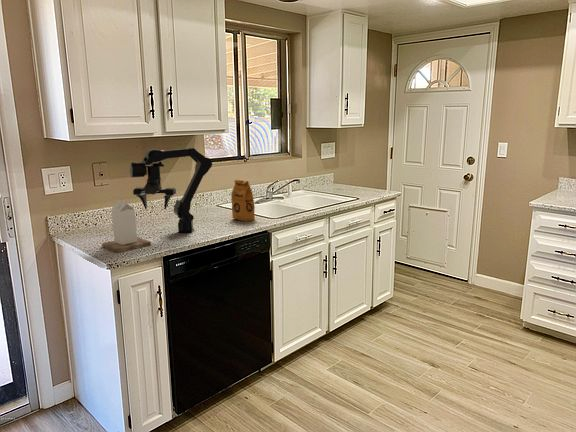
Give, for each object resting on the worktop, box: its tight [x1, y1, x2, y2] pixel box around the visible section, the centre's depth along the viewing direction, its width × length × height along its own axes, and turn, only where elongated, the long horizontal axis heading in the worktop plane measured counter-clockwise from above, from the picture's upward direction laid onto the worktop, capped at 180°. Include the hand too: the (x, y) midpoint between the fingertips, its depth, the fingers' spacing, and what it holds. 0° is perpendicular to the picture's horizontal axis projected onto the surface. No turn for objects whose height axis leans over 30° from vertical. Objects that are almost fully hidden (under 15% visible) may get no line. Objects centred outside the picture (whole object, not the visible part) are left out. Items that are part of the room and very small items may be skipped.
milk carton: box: [111, 199, 138, 245], centre depth 191 cm, size 7×7×19 cm
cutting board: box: [101, 236, 152, 254], centre depth 193 cm, size 16×14×2 cm
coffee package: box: [230, 179, 255, 223], centre depth 238 cm, size 10×12×22 cm
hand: (155, 209), depth 206 cm, fingers open, 9 cm apart
